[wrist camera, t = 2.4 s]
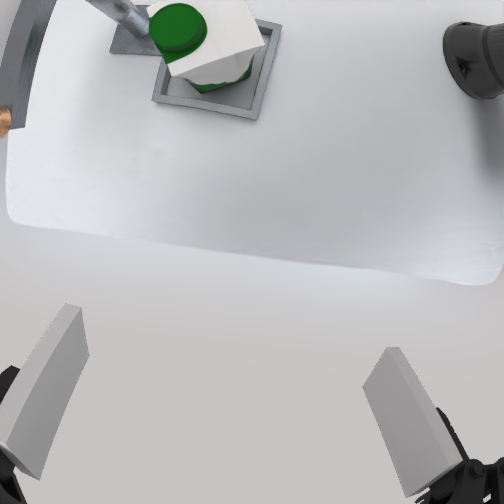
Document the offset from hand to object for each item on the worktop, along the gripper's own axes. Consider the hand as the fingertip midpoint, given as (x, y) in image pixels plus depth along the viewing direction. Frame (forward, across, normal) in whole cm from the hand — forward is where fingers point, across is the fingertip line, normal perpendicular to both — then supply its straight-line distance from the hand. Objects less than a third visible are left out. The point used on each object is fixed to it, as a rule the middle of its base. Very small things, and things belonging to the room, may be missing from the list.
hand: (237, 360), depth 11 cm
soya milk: (+33, -6, +17) cm, 38 cm away
